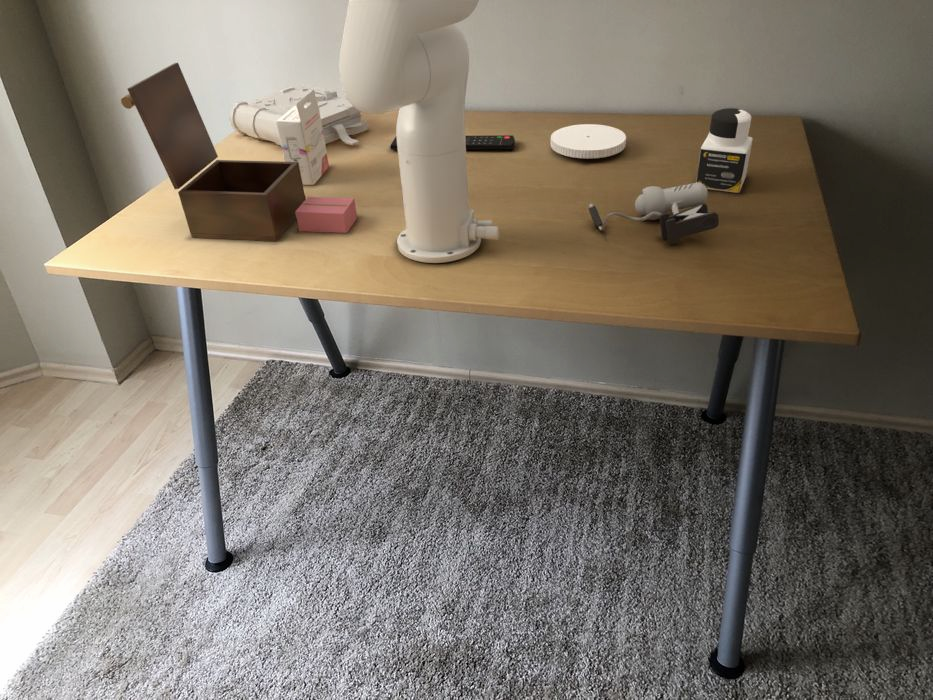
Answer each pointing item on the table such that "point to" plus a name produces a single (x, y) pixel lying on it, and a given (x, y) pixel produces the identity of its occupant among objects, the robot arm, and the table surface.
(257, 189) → the chest
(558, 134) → the plastic lid
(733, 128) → the medicine bottle
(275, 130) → the book
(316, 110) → the ink cartridge box
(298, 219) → the pink slotted box
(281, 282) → the table surface
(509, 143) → the remote control
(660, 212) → the clip-on lamp
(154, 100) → the lid
